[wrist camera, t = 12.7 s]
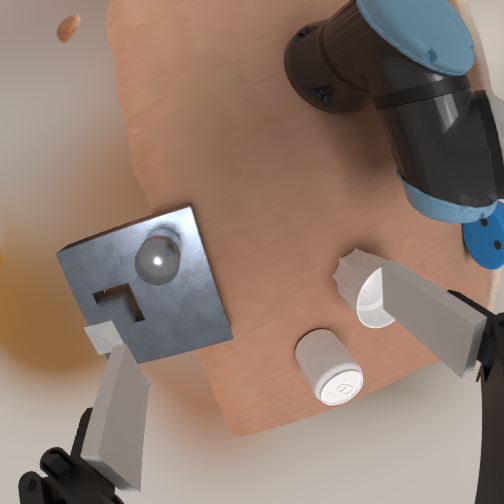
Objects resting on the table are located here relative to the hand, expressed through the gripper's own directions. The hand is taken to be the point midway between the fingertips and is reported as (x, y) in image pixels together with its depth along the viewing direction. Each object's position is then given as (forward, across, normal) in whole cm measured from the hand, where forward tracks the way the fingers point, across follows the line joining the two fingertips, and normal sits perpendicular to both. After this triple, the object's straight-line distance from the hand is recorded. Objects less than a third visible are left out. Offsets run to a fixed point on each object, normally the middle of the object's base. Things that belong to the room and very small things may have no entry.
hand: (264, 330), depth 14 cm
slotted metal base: (+29, -13, -7) cm, 32 cm away
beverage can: (+29, +10, -27) cm, 41 cm away
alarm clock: (+29, +50, -15) cm, 60 cm away
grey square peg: (+29, -17, -7) cm, 34 cm away
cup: (+29, +19, -15) cm, 38 cm away
